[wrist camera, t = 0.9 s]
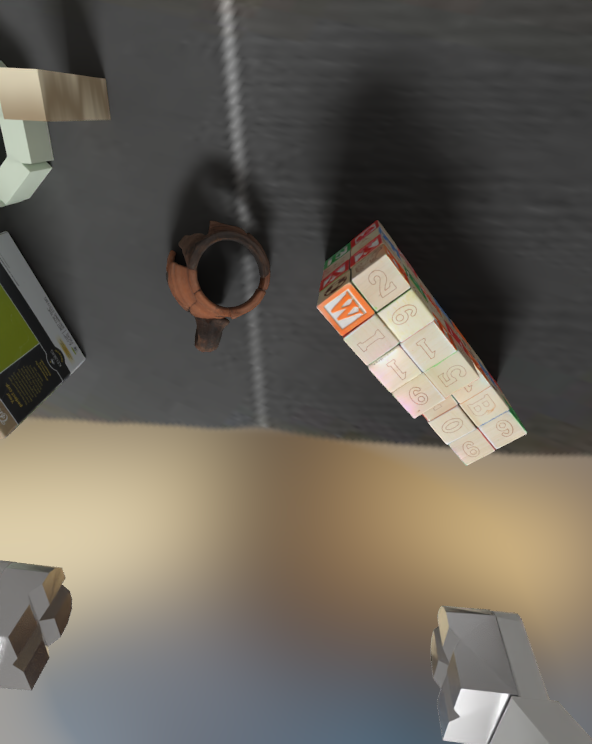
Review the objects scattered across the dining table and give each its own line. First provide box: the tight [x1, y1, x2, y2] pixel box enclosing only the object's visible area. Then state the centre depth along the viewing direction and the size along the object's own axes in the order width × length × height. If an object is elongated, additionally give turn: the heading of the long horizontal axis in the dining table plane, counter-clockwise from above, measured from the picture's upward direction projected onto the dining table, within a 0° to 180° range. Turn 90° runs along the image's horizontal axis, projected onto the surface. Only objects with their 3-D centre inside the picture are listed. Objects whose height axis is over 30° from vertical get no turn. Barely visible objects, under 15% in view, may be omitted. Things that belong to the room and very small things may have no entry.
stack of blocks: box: [317, 220, 527, 465], centre depth 42 cm, size 21×6×12 cm, turn 40°
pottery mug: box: [166, 221, 270, 352], centre depth 45 cm, size 12×10×8 cm
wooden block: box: [0, 67, 111, 122], centre depth 36 cm, size 3×3×10 cm
